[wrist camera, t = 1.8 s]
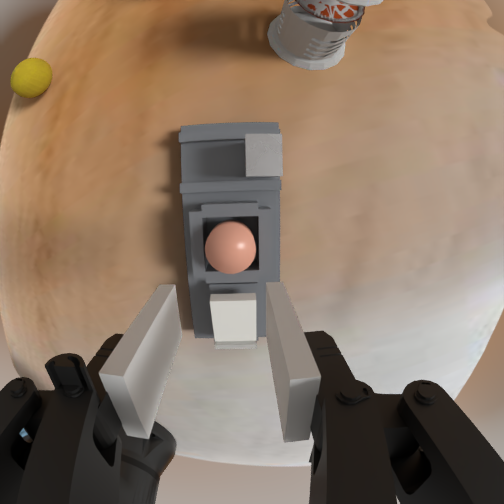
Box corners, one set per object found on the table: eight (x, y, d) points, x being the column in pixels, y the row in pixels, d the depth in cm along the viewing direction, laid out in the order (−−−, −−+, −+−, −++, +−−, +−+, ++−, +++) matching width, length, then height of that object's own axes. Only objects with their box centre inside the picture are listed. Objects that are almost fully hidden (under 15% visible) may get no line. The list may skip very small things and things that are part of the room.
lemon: (66, 64, 23) (35, 46, 16) (55, 100, 25) (19, 88, 17) (41, 70, 23) (9, 56, 15) (30, 103, 24) (-4, 95, 16)
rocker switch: (216, 340, 29) (215, 351, 28) (210, 294, 27) (209, 305, 25) (255, 339, 30) (256, 350, 28) (255, 292, 27) (256, 304, 25)
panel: (197, 329, 33) (191, 351, 28) (184, 129, 27) (174, 120, 22) (276, 327, 34) (281, 349, 29) (275, 126, 28) (282, 115, 23)
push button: (210, 264, 27) (206, 274, 24) (207, 220, 26) (203, 225, 23) (254, 263, 27) (256, 273, 24) (253, 218, 26) (255, 223, 23)
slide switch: (245, 177, 27) (246, 176, 22) (244, 142, 26) (245, 133, 21) (275, 177, 27) (282, 176, 22) (274, 142, 26) (281, 133, 21)
